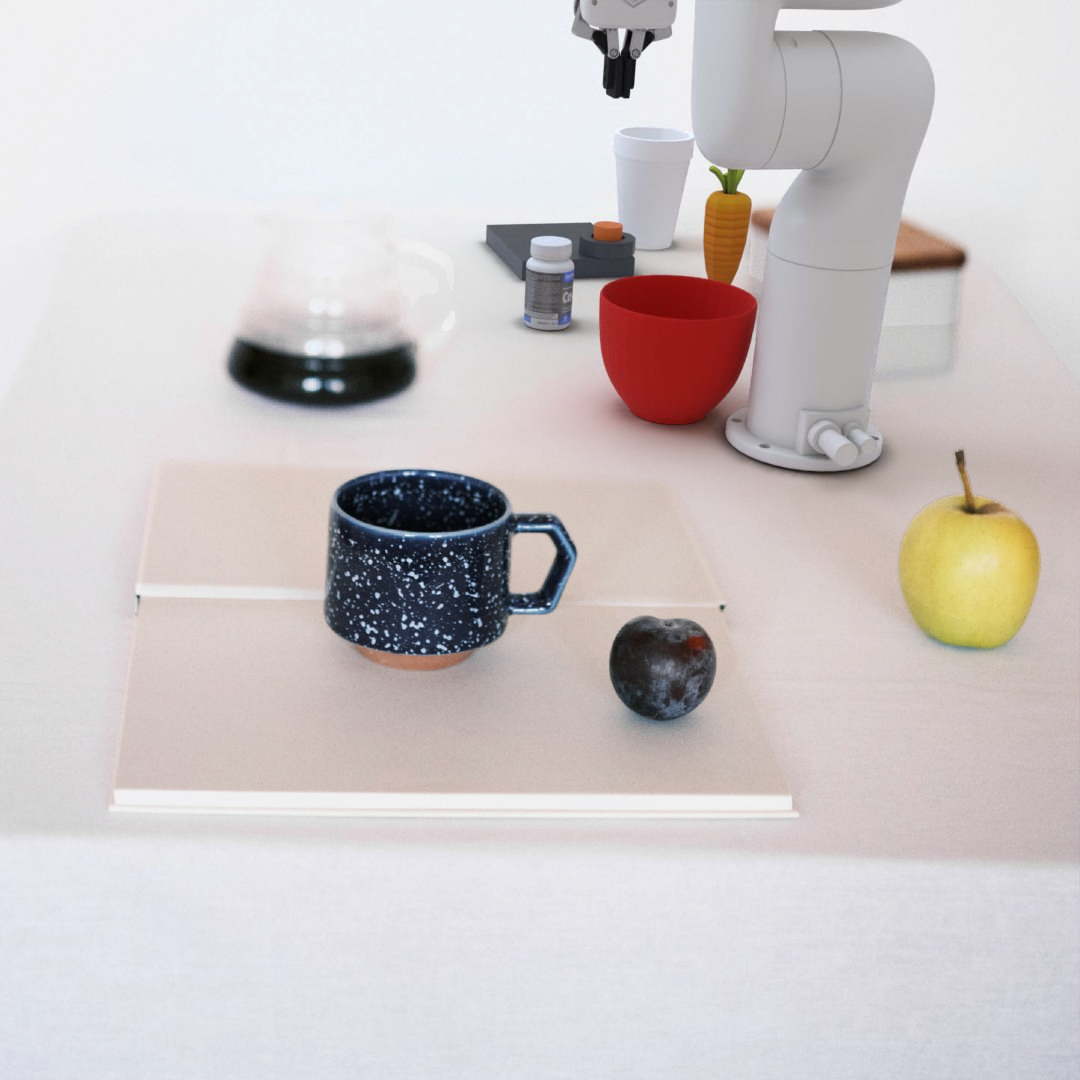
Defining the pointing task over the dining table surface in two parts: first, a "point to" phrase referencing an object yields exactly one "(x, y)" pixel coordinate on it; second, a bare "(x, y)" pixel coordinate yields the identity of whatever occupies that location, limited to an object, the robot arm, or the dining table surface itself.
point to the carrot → (725, 227)
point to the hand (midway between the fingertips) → (617, 96)
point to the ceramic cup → (674, 343)
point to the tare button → (608, 231)
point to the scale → (586, 250)
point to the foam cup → (651, 181)
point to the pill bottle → (549, 284)
